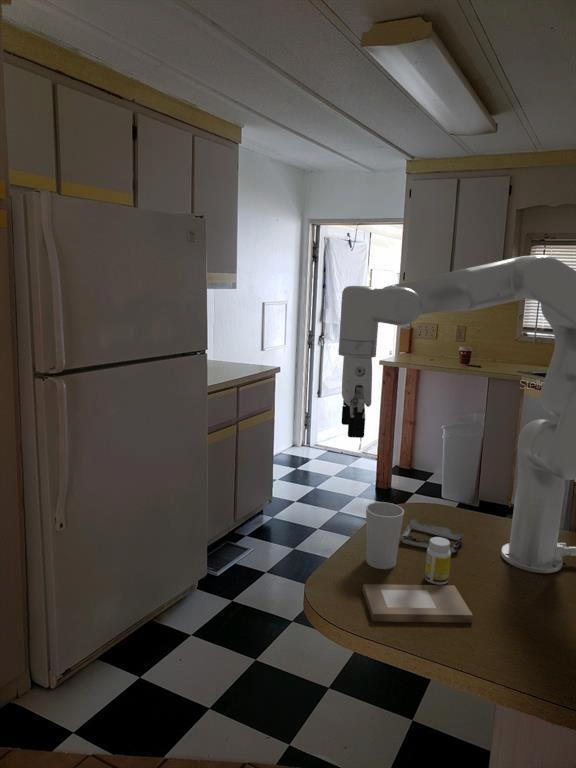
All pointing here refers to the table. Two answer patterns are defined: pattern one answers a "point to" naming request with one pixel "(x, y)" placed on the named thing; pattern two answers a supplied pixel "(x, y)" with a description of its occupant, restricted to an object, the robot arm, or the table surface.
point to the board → (416, 603)
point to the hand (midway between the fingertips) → (352, 430)
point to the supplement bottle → (438, 561)
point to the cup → (383, 534)
